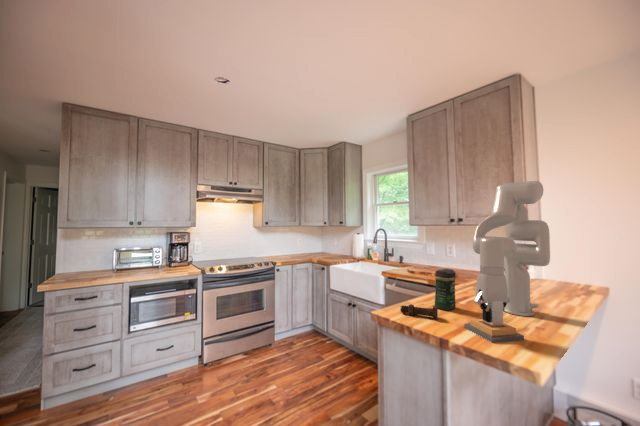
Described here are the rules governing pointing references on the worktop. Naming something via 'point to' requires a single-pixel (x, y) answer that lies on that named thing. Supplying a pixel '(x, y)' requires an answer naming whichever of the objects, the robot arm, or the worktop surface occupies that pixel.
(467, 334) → the worktop surface
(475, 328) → the square socket base
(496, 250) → the robot arm
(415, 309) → the bolt
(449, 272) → the coffee jar
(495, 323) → the block
